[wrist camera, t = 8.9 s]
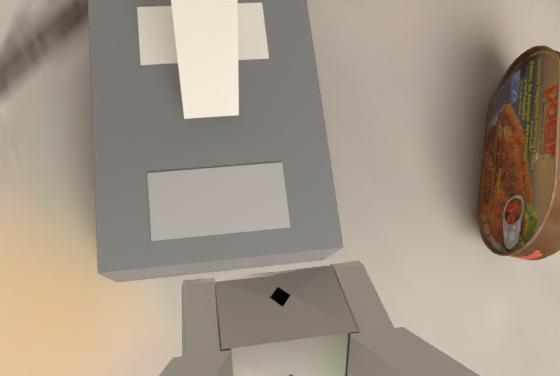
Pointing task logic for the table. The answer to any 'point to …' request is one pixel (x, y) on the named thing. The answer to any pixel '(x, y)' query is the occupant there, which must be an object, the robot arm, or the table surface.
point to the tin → (523, 160)
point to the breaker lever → (207, 56)
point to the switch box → (207, 148)
